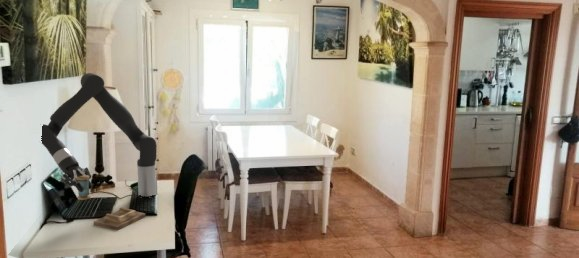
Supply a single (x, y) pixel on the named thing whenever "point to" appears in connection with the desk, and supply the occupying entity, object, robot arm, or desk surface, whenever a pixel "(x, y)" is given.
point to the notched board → (119, 219)
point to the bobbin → (84, 187)
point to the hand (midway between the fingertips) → (86, 189)
